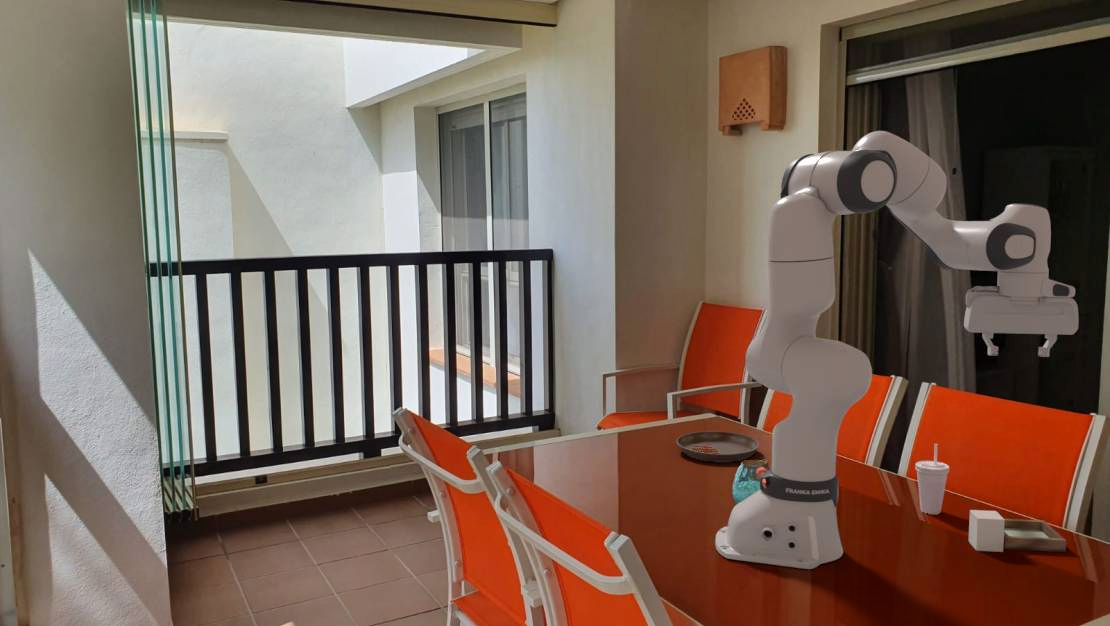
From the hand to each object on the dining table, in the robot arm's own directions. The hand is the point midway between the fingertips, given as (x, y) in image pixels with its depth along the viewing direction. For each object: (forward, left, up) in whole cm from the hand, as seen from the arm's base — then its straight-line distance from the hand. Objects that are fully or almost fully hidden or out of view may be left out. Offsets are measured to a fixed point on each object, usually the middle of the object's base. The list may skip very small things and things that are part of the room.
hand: (1018, 355), depth 170 cm
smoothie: (-16, -3, -32) cm, 36 cm away
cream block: (-11, -21, -32) cm, 40 cm away
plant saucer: (-58, +35, -32) cm, 75 cm away
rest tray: (-3, -17, -32) cm, 36 cm away
